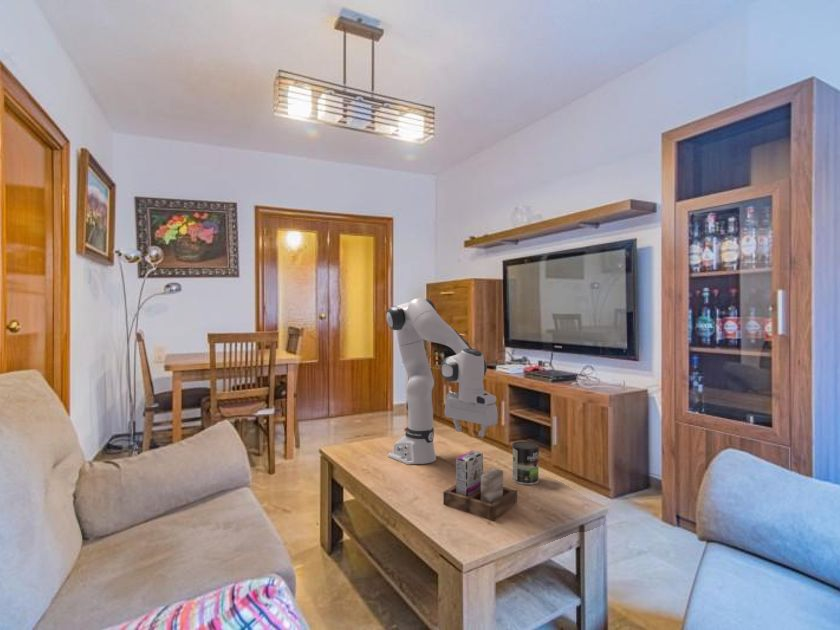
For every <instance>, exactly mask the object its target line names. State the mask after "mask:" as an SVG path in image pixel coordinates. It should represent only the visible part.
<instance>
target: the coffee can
mask: <svg viewBox="0 0 840 630" xmlns="http://www.w3.org/2000/svg"><path fill="white" fill-rule="evenodd" d="M539 449H540V446H539V444H537V443H536V442H533V441H532V442H531V441H525V440H524V441H521V440H520V441H515V442H513V443H512V478H511V479H512V481H513V482H515V483H516V484H519V485H522V486H523V485H525V486H531V485H532V486H533V485H536V484H538V483H539V482H540V481H539V460H540V459H539V455H540V452H539V451H540V450H539Z"/></svg>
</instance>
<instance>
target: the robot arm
mask: <svg viewBox="0 0 840 630" xmlns="http://www.w3.org/2000/svg"><path fill="white" fill-rule="evenodd" d="M385 315H386V316H385V317H386V323H387V324H388V326H389V328H390V329H391V330H392V331H396V336H397V344H398V347H399V352H400V355H401V360H402V364H403V365H404V368H405V371H406V373H407V377H408V381H407V382H406V399H407V400H406V401H407V410H408V411H407V412H408V414H407V415H408V420H407V421H408V426H407V427H406V428H404V429H403V432H405V433H404V435H403V436H401V437H400V438H399V439H398V440H396V441H395V442H394V444H393V450H392V451H390V452H389V453H388V457H389V458H391V459H393V460H396V461H398V462H400V463H403V464H405V465H424V464H430V463H434V462H435V461H437V456H436V451H435V445H434V437H435V430H434V428H435V427H434V410H433V388H434V386H435V379H434V377H433V373H432V369H431V365H430V362H429V360H428V356H427V352H426V349H425V345H424V344H425V343H424V341H426V342H430V343H436V344H440V345H443V346H444V345H445V346H447V347H449V348H450V349H451V350H453V352H454V353H455V354H454V355H451V356H447V357H445V358H444V359H443V360H442V361H441V365H440V374H441V377H442V378H443V379H444V380H445V381H446V382H449V383H458V392H454V391H449V392H447V394H446V396H445V405H444V416H445V417H446V418H450V419H452V422H453V424H454V427H455V432H459V433H460V432H462V431H463V430H462V428H463V427H462V425H460V423H459V421H464V422H468V423H473V424H478V425H480V426H481V430H479V431H478V437H479V438H480V437H481V438H484V437H485V432H486V430H487V429H488V428H489V427H494V426H496V425H497V424H498V419H499V416H498V415H499V414H498V406H497V404H496V402H497V397H496V395H494V394H492V393H490V392H488V391H486V390H485V387H484V377H485V376H486V374H487V372H488V371H487V369H488V365H487V363H486V360H485V358H484V355H483V354H484V353H483V352H481V350H477V349H475V348H474V349H473V348H472V347H471V346H470V344H469V343H467V341H466V340H465V339H464V338H463V337H462V335H461V334H460V333H459V332H458V331H457V330H456V329H455V328H453V327H452V326H450V324H448V323H447V322H446V321H444V319H443V318H442V317H441V316H440V315H439V314H438V312H437V310H436V307H435V304H434V303H433V301H432V300H430V299H426V298H422V297H419V298H418V297H417V298H414V299H413V300H412V299H411V301H408V302H404V303H401V304H399V305H398V304H397V305H393V306H391V307H389V308H388V309H387V310H386V314H385Z"/></svg>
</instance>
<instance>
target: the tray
mask: <svg viewBox="0 0 840 630" xmlns="http://www.w3.org/2000/svg"><path fill="white" fill-rule="evenodd" d="M442 494H443V495H442V496H443V499H442V501H443V505H444V506H447V507H450V508H453V509H455V510H460V511H463V512H465V513H469V514H472V515H475V516H477V517H480V518H484V519H487V520H491V521H492V522H493V521H496V520H497V519H498V518H500V517H502V515H503V514H505V513H506V512H507V511H509V510H510V509H511V508H513V507H514V506H516V505H517V504H518V490H516V489H513V488H509V487H505V486H504V471H503V469H499V468H496V467H493V468H491V469H490V470H488V471H486V472H485V473H484V472H483V475H481V489H480V490H479V491H477V492H475V493H474V494H472V495H471V496H469V497H467V496H464V495H460V494H457V493H456V484H454V485H453V486H450V487H449V488H447V489H446V490H444V491H443V493H442Z"/></svg>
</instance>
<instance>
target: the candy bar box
mask: <svg viewBox="0 0 840 630" xmlns="http://www.w3.org/2000/svg"><path fill="white" fill-rule="evenodd" d="M483 457H484V454H483V452H481V451H476V450H471V451H468V452H466V453H463V454H462V455H461V456H458V457H456V458H455V485H456V493H457V494H460V495H464V496H467V497H469V496H471V495H472V494H474V493H475V492H477V491H479V490H480V489H481V475H483V474H484V461H483V460H484V458H483Z"/></svg>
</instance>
